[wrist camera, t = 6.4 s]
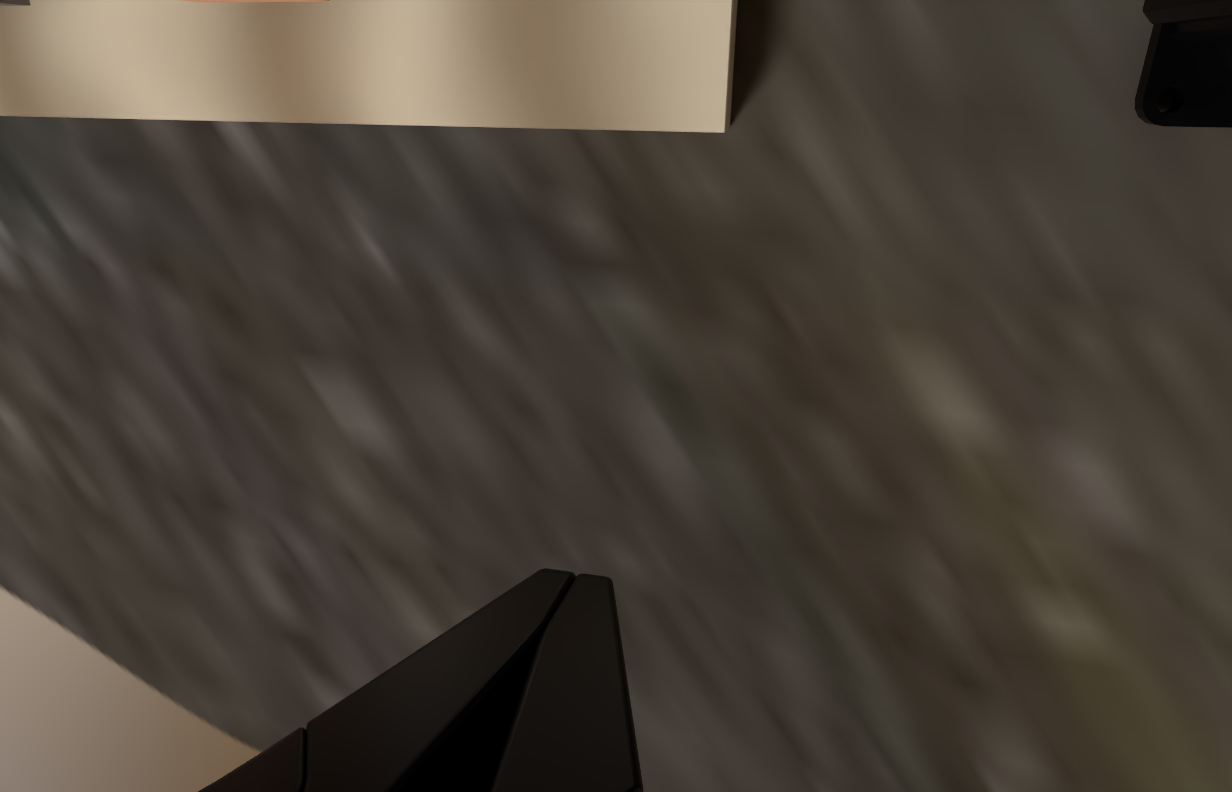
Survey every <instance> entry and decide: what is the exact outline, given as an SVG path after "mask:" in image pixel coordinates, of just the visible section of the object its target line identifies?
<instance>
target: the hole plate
mask: <svg viewBox="0 0 1232 792" xmlns="http://www.w3.org/2000/svg"><path fill="white" fill-rule="evenodd" d="M737 3H738V0H330V1H319V2H225V3H202V2H192V1H183V0H0V116H33V117H76V118H119V119H162V120H205V121H248V122H291V123H335V124H378V125H421V126H464V127H507V128H550V129H593V130H636V131H679V132H723V133H724V132H725V131H727V130H728V129H729V128H730V119H731V103H732V86H733V70H734V53H735V36H736V20H737Z"/></svg>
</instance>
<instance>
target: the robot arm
mask: <svg viewBox="0 0 1232 792" xmlns="http://www.w3.org/2000/svg"><path fill="white" fill-rule="evenodd" d="M1143 13H1144V14H1145V16H1146V17H1147V18H1148V20H1149V21H1150V23H1152V24H1154V26H1153V30H1152V34H1151V38H1150V42H1149V46H1148V50H1147V54H1146V58H1145V62H1144V66H1143V70H1142V74H1141V78H1140V82H1139V86H1138V90H1137V94H1136V98H1135V110H1136V112H1137V115H1138V117H1139V118H1140V119H1142V120H1143V121H1144V122H1145V123H1149V124H1154V125H1160V126H1180V127H1232V0H1145V2H1144V6H1143ZM1167 87H1173V88H1174V90H1175V91H1176V93H1177V99H1176V101H1175V103H1174V105H1173V106H1172V107H1171V108H1169V109H1168V110H1167V111H1163V112H1160V111H1159V109H1158V108H1157V107H1156V99H1157V97H1158V95H1159V94H1160V92H1161V91H1163V90H1164V89H1165V88H1167ZM198 792H643V784H642V777H641V770H640V763H639V757H638V750H637V743H636V736H635V730H634V723H633V716H632V709H631V702H630V696H629V689H628V682H627V675H626V669H625V662H624V655H623V648H622V641H621V635H620V628H619V621H618V614H617V608H616V601H615V594H614V587H613V582H612V580H611V579H610V578H609V577H605V576H598V575H590V574H579V575H577V576H576V575H575V574H574V573H573V572H569V571H561V570H554V569H541V570H539V571H537V572H536V573H534V574H533V575H531V576H530V577H528V578H527V579H525V580H524V581H522V582H521V583H519V584H518V585H516V586H514V587H513V588H511V589H510V590H508V591H507V592H505V593H504V594H502V595H501V596H499V597H498V598H496V599H495V600H493V601H492V602H490V603H489V604H487V605H486V606H484V607H483V608H481V609H480V610H478V611H477V612H475V613H473V614H472V615H470V616H469V617H467V618H466V619H464V620H463V621H461V622H460V623H458V624H457V625H455V626H454V627H452V628H451V629H449V630H448V631H446V632H445V633H443V634H442V635H440V636H439V637H437V638H436V639H434V640H432V641H431V642H429V643H428V644H426V645H425V646H423V647H422V648H420V649H419V650H417V651H416V652H414V653H413V654H411V655H410V656H408V657H407V658H405V659H404V660H402V661H401V662H399V663H398V664H396V665H395V666H393V667H392V668H390V669H388V670H387V671H385V672H384V673H382V674H381V675H379V676H378V677H376V678H375V679H373V680H372V681H370V682H369V683H367V684H366V685H364V686H363V687H361V688H360V689H358V690H357V691H355V692H354V693H352V694H351V695H349V696H347V697H346V698H344V699H343V700H341V701H340V702H338V703H337V704H335V705H334V706H332V707H331V708H329V709H328V710H326V711H325V712H323V713H322V714H320V715H319V716H317V717H316V718H314V719H313V720H311V721H310V722H308V723H307V725H306V730H305V729H304V728H298V729H297V730H295V731H294V732H292V733H291V734H289V735H288V736H286V737H285V738H283V739H282V740H280V741H279V742H277V743H276V744H274V745H273V746H271V747H270V748H268V749H266V750H265V751H263V752H262V753H260V754H259V755H257V756H255V757H254V758H252V759H251V760H249V761H247V762H246V763H244V764H243V765H241V766H240V767H238V768H236V769H235V770H233V771H232V772H230V773H228V774H227V775H225V776H224V777H222V778H220V779H219V780H217V781H216V782H214V783H212V784H210V785H208V786H207V787H205V788H203V789H202V790H200V791H198Z"/></svg>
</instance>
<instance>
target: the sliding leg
mask: <svg viewBox="0 0 1232 792" xmlns="http://www.w3.org/2000/svg"><path fill="white" fill-rule="evenodd" d="M183 1H192V2H202V3H225V2H319V1H330V0H183Z"/></svg>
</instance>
